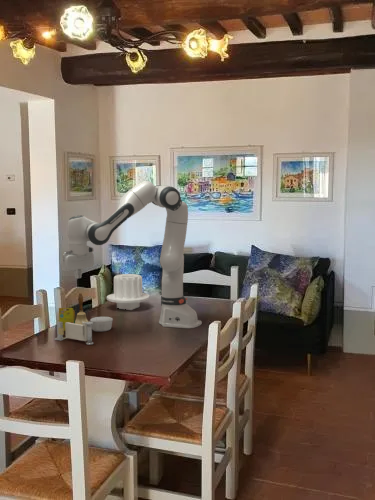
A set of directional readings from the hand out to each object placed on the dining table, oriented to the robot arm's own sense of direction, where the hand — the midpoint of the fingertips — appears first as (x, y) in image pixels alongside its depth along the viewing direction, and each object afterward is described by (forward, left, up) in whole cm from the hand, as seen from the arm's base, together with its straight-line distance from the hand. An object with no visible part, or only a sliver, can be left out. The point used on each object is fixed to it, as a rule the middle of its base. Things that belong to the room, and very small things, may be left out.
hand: (78, 278), depth 262 cm
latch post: (+2, +12, -27) cm, 30 cm away
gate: (-9, +12, -26) cm, 30 cm away
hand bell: (+11, -16, -27) cm, 34 cm away
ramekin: (-5, -11, -27) cm, 30 cm away
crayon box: (+9, -2, -27) cm, 29 cm away
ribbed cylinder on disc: (+9, -58, -27) cm, 65 cm away
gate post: (-15, +12, -27) cm, 33 cm away
